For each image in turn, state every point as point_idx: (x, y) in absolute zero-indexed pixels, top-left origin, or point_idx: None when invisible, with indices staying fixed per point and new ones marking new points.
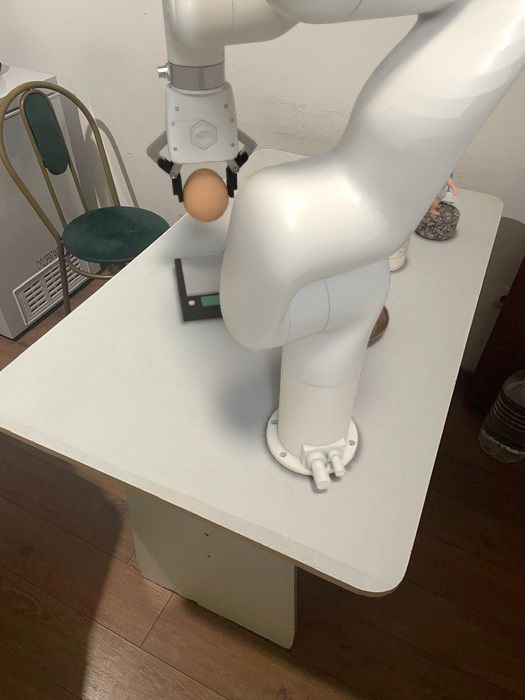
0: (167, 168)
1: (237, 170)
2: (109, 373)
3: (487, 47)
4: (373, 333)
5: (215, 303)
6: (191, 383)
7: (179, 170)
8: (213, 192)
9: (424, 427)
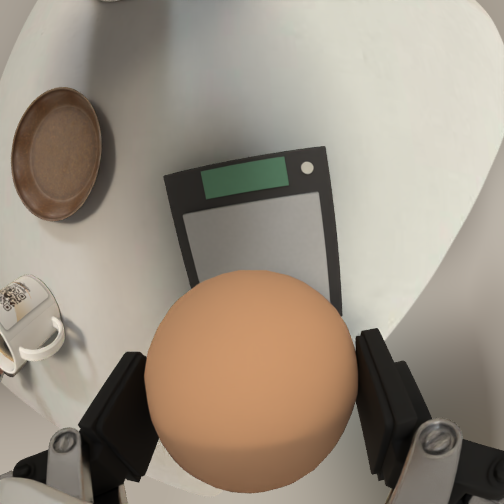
0: (470, 463)
1: (65, 438)
2: (418, 46)
3: None
4: (34, 135)
5: (256, 162)
6: (292, 8)
7: (406, 471)
8: (186, 350)
9: (35, 14)
